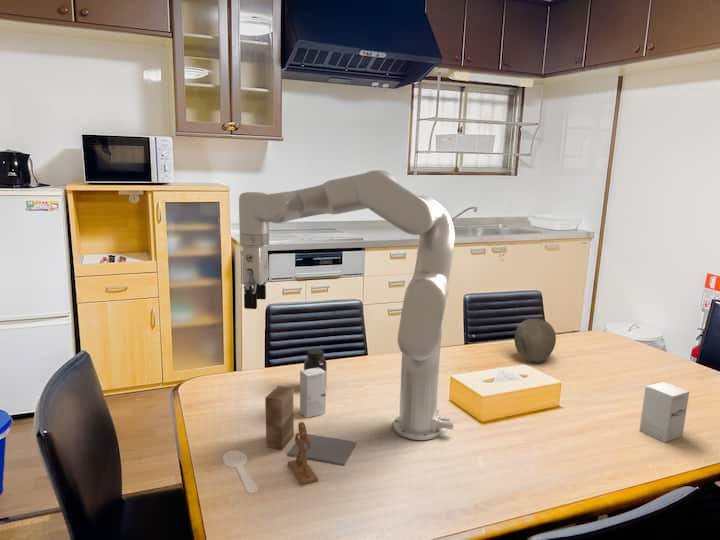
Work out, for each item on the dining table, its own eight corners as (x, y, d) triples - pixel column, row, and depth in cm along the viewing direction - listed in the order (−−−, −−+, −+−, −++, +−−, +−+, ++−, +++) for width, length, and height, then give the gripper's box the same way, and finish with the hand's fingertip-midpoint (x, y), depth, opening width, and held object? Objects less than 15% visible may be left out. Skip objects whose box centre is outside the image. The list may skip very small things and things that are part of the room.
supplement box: (665, 443, 131) (672, 396, 129) (638, 430, 138) (644, 385, 135) (683, 437, 134) (690, 391, 132) (656, 424, 141) (662, 380, 138)
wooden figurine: (287, 465, 119) (287, 416, 116) (303, 461, 120) (303, 412, 118) (301, 486, 111) (301, 434, 108) (318, 481, 113) (318, 430, 110)
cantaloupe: (560, 368, 179) (564, 326, 177) (518, 367, 180) (522, 325, 177) (546, 353, 193) (549, 314, 190) (507, 352, 193) (511, 313, 191)
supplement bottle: (299, 390, 157) (299, 353, 155) (310, 382, 164) (310, 346, 161) (320, 395, 155) (320, 356, 153) (330, 386, 161) (330, 349, 159)
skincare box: (306, 418, 140) (306, 376, 138) (299, 412, 144) (298, 370, 142) (326, 413, 144) (327, 371, 141) (318, 406, 147) (318, 366, 145)
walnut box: (293, 436, 131) (293, 387, 129) (281, 450, 124) (281, 399, 122) (277, 433, 132) (277, 385, 130) (265, 447, 126) (264, 397, 123)
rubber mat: (356, 443, 128) (356, 441, 128) (344, 465, 119) (344, 463, 119) (303, 434, 132) (303, 433, 132) (287, 455, 123) (287, 453, 122)
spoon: (241, 497, 107) (241, 495, 107) (219, 455, 122) (219, 453, 122) (266, 490, 110) (266, 488, 109) (241, 449, 125) (241, 447, 125)
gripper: (260, 245, 128) (261, 313, 131) (275, 236, 145) (276, 296, 148) (230, 244, 128) (232, 312, 131) (249, 235, 145) (250, 295, 148)
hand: (255, 303), depth 140 cm, fingers open, 9 cm apart
